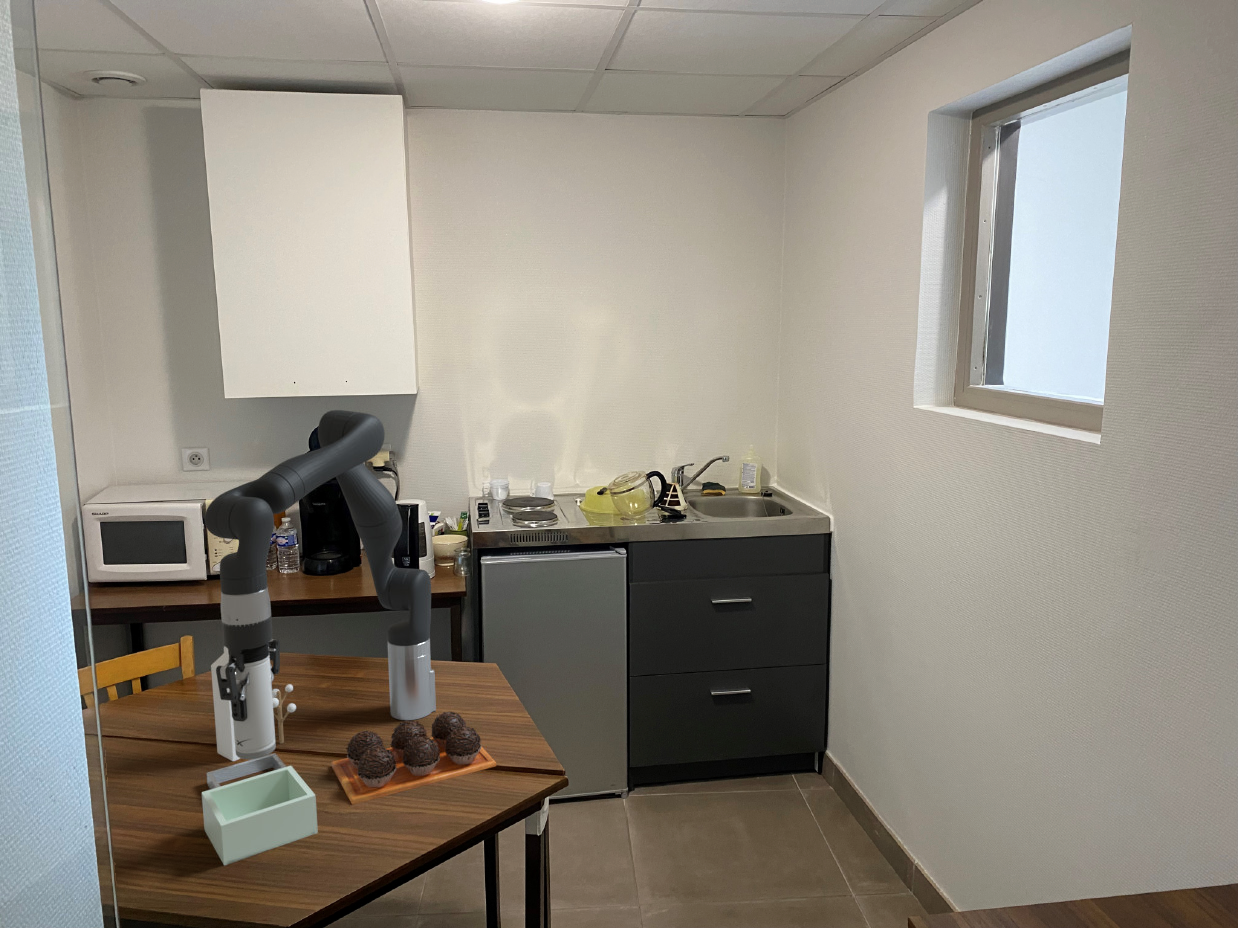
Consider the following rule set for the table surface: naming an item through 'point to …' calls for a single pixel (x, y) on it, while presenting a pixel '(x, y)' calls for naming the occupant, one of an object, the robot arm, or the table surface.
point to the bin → (259, 814)
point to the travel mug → (256, 707)
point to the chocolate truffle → (410, 758)
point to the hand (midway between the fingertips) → (253, 710)
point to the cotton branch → (278, 704)
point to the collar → (243, 769)
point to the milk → (223, 715)
